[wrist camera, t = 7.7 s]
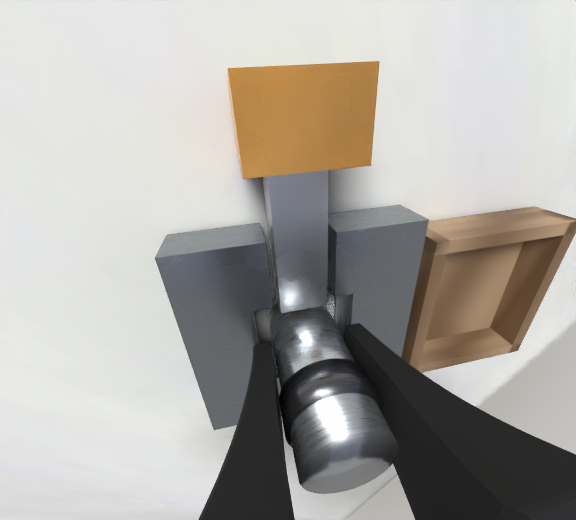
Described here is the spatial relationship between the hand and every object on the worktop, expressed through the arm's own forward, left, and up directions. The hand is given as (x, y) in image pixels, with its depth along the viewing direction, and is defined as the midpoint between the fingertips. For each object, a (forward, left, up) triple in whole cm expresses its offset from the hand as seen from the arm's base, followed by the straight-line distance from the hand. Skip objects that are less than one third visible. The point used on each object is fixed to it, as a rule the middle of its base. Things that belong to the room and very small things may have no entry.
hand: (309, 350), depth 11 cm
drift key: (0, -6, -3) cm, 6 cm away
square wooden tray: (-9, 0, -3) cm, 9 cm away
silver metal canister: (0, 0, -3) cm, 3 cm away
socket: (0, 0, -3) cm, 3 cm away
